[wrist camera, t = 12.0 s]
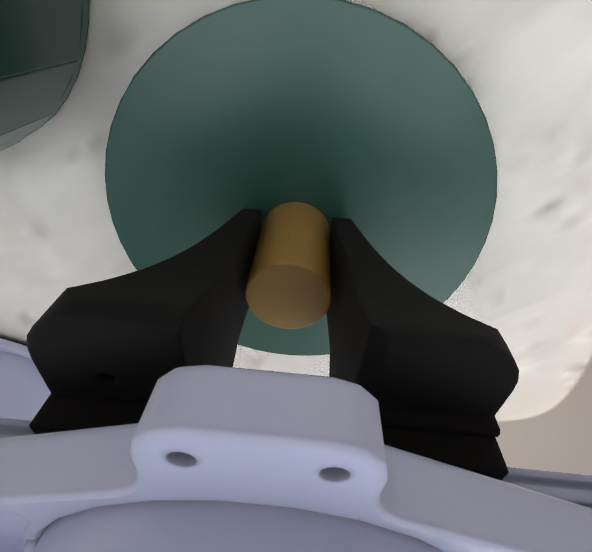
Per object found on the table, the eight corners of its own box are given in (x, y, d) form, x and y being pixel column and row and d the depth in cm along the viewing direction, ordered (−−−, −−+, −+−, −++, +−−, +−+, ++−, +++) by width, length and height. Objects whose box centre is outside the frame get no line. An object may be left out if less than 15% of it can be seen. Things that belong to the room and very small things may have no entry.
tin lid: (360, 369, 19) (369, 461, 15) (101, 278, 16) (33, 362, 12) (579, 129, 11) (708, 194, 7) (157, -120, 8) (26, -217, 5)
